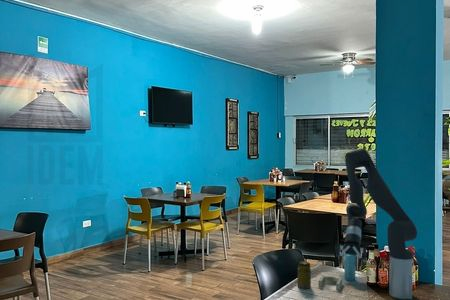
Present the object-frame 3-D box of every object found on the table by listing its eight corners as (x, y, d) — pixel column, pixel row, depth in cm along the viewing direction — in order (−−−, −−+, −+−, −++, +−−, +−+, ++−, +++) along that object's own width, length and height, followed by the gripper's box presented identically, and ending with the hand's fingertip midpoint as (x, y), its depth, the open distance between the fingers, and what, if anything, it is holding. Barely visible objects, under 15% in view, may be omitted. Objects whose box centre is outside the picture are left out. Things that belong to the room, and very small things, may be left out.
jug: (356, 278, 197) (356, 254, 197) (353, 283, 191) (354, 258, 190) (345, 276, 200) (345, 253, 199) (342, 281, 193) (342, 256, 193)
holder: (343, 285, 190) (343, 277, 190) (339, 292, 181) (339, 284, 180) (321, 282, 194) (321, 274, 194) (317, 288, 185) (317, 281, 185)
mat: (363, 278, 199) (363, 277, 199) (360, 286, 189) (360, 284, 189) (340, 275, 203) (340, 274, 203) (336, 282, 193) (336, 281, 193)
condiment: (303, 284, 190) (303, 259, 190) (317, 289, 184) (317, 263, 184) (293, 288, 186) (293, 262, 185) (307, 293, 179) (307, 266, 179)
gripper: (338, 231, 205) (333, 259, 195) (367, 234, 199) (364, 263, 189) (339, 239, 210) (335, 267, 200) (368, 242, 204) (365, 271, 194)
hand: (349, 265), depth 195 cm, fingers open, 8 cm apart
